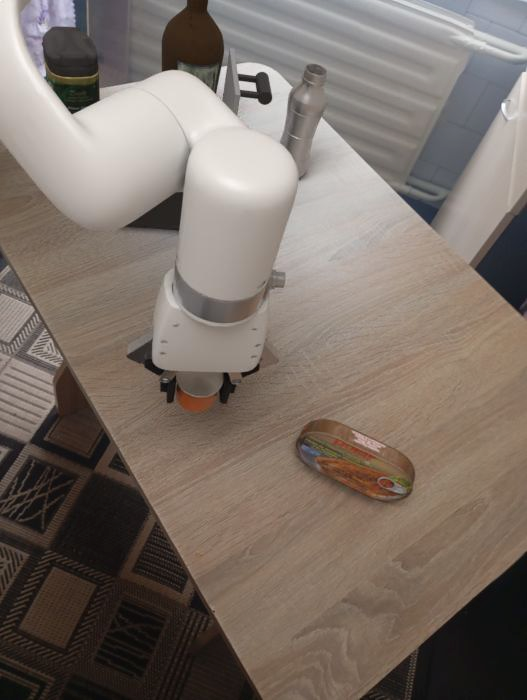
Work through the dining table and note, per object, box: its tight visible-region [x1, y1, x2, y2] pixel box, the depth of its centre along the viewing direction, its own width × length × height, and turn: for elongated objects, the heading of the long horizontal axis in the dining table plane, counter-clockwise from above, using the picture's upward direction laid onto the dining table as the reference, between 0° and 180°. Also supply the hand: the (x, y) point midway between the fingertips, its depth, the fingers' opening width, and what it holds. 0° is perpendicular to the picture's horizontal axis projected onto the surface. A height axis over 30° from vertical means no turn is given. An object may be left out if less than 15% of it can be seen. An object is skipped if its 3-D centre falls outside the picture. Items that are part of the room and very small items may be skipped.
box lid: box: [221, 47, 273, 117], centre depth 83 cm, size 15×12×6 cm
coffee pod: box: [174, 371, 224, 413], centre depth 59 cm, size 5×5×4 cm
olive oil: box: [161, 0, 225, 95], centre depth 99 cm, size 11×11×25 cm
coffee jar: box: [41, 25, 101, 114], centre depth 92 cm, size 10×8×19 cm
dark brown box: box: [125, 192, 183, 231], centre depth 91 cm, size 15×12×9 cm
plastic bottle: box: [279, 63, 328, 179], centre depth 98 cm, size 6×7×20 cm
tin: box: [295, 418, 416, 502], centre depth 69 cm, size 15×3×8 cm, turn 66°
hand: (196, 391), depth 60 cm, fingers closed on coffee pod, 5 cm apart
